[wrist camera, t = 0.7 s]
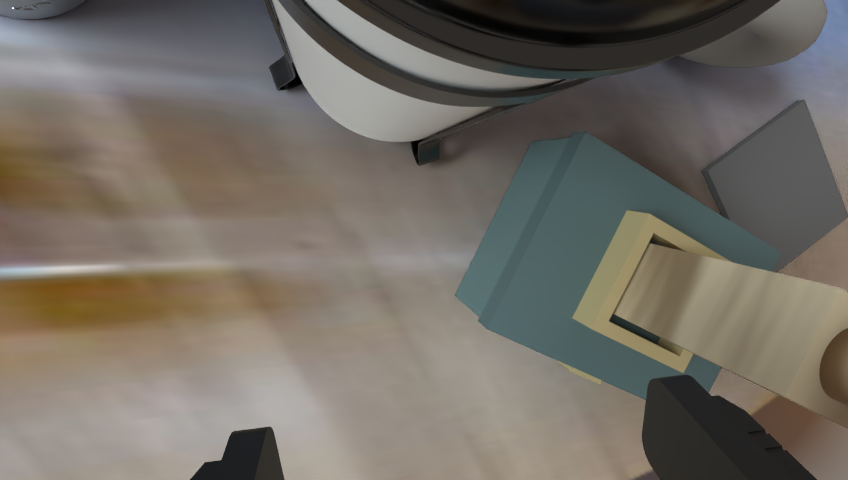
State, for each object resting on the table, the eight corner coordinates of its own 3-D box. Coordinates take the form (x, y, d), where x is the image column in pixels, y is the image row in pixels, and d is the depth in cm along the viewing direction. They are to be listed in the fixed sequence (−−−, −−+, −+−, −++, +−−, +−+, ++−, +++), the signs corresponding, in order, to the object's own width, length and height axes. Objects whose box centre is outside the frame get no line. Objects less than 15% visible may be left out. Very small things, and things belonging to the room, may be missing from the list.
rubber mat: (701, 170, 39) (707, 170, 38) (797, 100, 40) (804, 99, 39) (753, 283, 42) (759, 285, 41) (840, 215, 43) (848, 216, 42)
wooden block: (599, 307, 30) (824, 416, 17) (633, 239, 30) (886, 298, 17) (654, 334, 32) (903, 455, 19) (687, 269, 31) (961, 346, 18)
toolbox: (448, 302, 35) (496, 348, 27) (530, 137, 35) (607, 129, 26) (624, 382, 40) (714, 443, 31) (699, 237, 40) (811, 258, 31)
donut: (606, 34, 35) (722, -13, 26) (622, -15, 35) (745, -81, 25) (716, 85, 38) (858, 59, 28) (732, 40, 38) (880, -2, 28)
